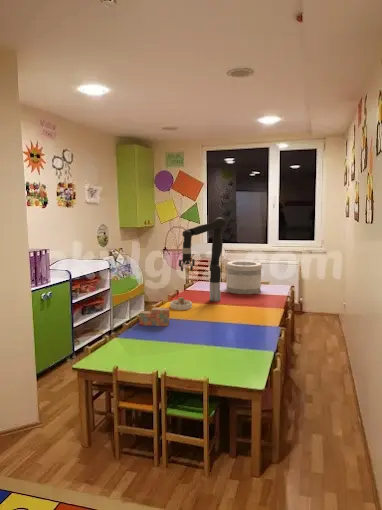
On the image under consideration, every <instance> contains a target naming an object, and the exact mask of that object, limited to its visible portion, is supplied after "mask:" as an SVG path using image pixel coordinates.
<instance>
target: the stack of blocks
mask: <svg viewBox="0 0 382 510" xmlns="http://www.w3.org/2000/svg"><path fill="white" fill-rule="evenodd" d="M138 316H139V319H138V320H139V324H138V325H139V326H151V327H169V325H170V308H169V307H152V309H151V311H150V310H140V312H139V315H138Z"/></svg>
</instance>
